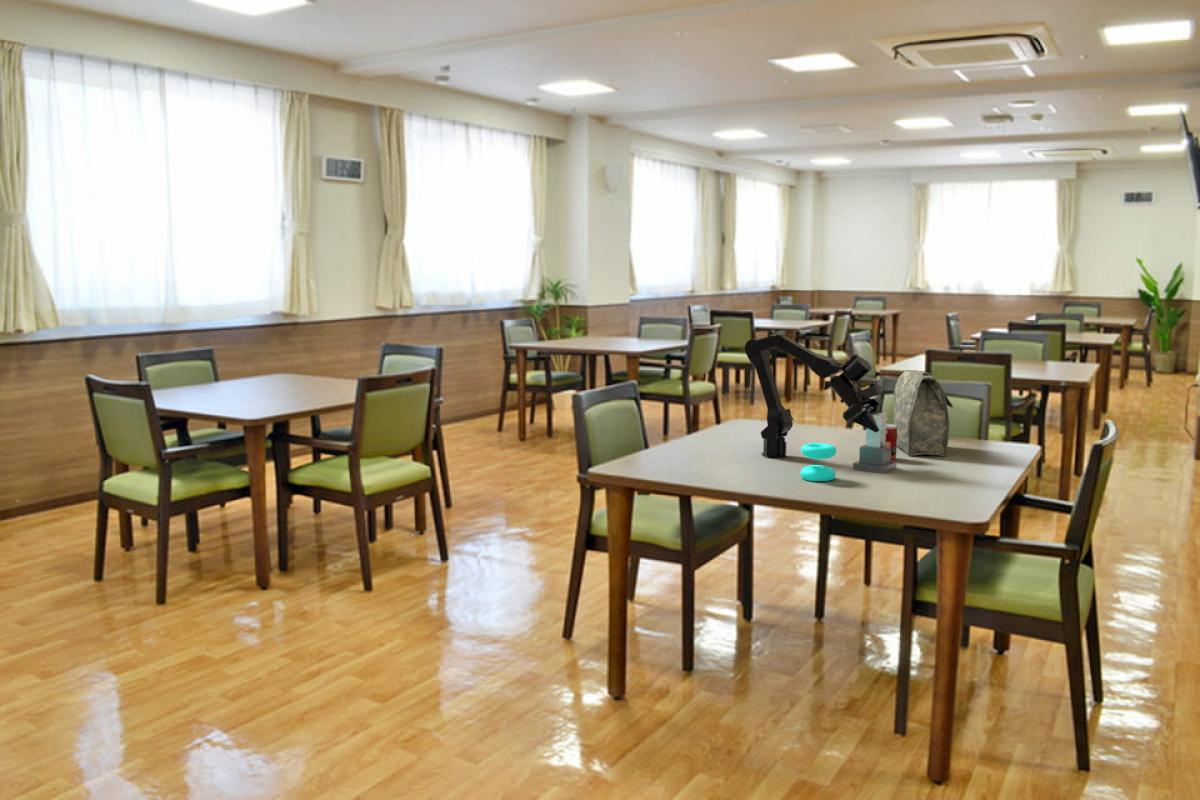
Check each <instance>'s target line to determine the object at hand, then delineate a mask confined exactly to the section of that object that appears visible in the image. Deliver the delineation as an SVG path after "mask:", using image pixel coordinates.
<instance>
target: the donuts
mask: <svg viewBox="0 0 1200 800" xmlns="http://www.w3.org/2000/svg"><path fill="white" fill-rule="evenodd" d="M800 449H801V450H800V451H801V453H802V455H803V456H805V457H807V458H808V459H813V460H828V459H831V458H832V457H834V456H835V455H836V453H837V449H836V447H835V446H834V445H833V444H828V443H822V442H812V443H811V442H810V443H805V444H803V445H802V446H801V448H800ZM800 476H801V478H802V479H803V480H805V481H810V482H815V481H825V482H830V480H831V481H832V480H834V479H835V478H836V472H835V470H834V469H833V468H832V467H830V466H826V465H823V464H822V465H821V464H820V465H819V464H818V465H817V464H814V465H813V464H812V465H807V466H804V467H802V469H801V470H800Z"/></svg>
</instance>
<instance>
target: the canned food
mask: <svg viewBox="0 0 1200 800" xmlns="http://www.w3.org/2000/svg"><path fill="white" fill-rule="evenodd" d="M887 424H888V427H886V431H887V433H886V441H885V443H886V442H891V444H890V446H891V460H893V461H896V458H897V448H898V447H897V425H893V423H887Z"/></svg>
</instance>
